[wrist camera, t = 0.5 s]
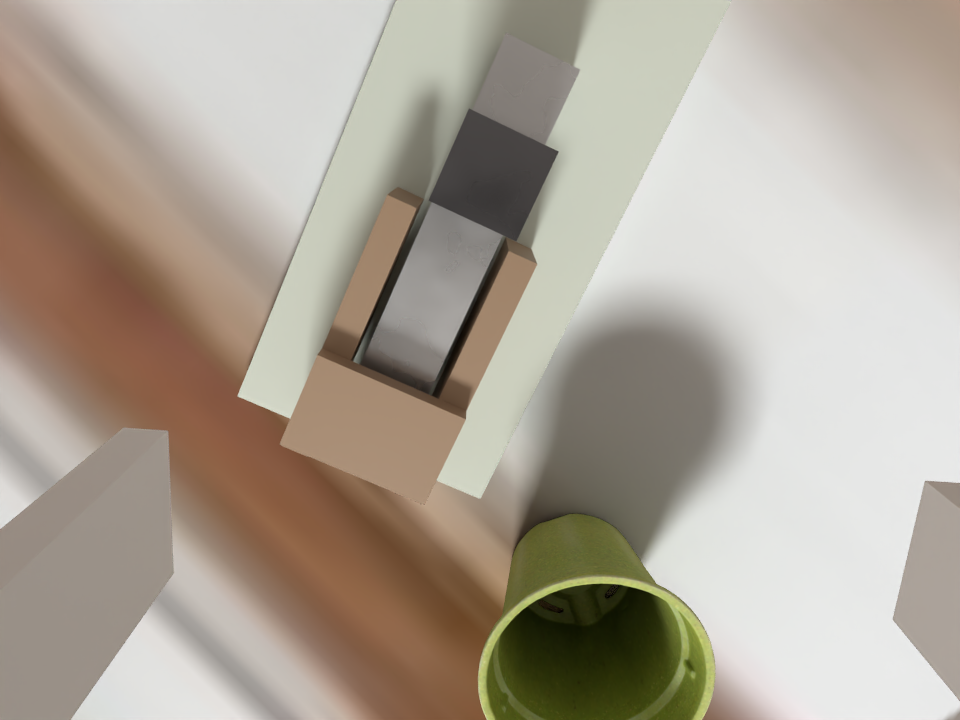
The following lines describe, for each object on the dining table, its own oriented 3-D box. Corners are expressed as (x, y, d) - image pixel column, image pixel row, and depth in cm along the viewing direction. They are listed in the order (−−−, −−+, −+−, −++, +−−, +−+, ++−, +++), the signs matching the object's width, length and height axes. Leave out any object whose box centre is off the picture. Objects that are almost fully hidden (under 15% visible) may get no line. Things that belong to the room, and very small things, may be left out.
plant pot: (701, 523, 40) (760, 628, 32) (616, 675, 42) (649, 810, 34) (526, 451, 39) (538, 540, 31) (449, 611, 41) (440, 734, 33)
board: (244, 388, 38) (198, 439, 32) (525, -310, 31) (536, -422, 24) (480, 487, 39) (480, 556, 33) (803, -157, 32) (882, -225, 26)
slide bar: (341, 409, 37) (298, 497, 28) (503, 40, 32) (511, 9, 24) (403, 435, 37) (379, 530, 28) (571, 74, 33) (604, 56, 24)
